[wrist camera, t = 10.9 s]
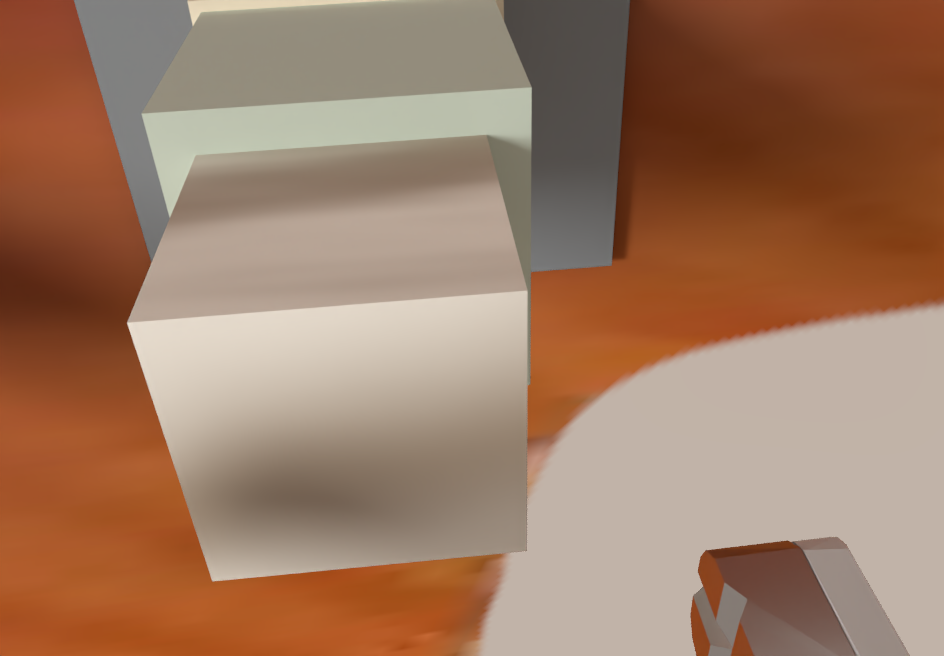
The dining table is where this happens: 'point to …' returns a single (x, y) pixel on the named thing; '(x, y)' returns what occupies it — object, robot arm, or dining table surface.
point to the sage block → (348, 89)
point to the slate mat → (552, 120)
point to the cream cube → (341, 356)
